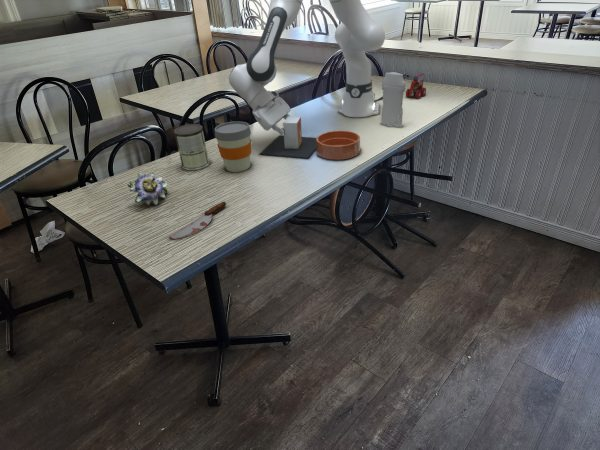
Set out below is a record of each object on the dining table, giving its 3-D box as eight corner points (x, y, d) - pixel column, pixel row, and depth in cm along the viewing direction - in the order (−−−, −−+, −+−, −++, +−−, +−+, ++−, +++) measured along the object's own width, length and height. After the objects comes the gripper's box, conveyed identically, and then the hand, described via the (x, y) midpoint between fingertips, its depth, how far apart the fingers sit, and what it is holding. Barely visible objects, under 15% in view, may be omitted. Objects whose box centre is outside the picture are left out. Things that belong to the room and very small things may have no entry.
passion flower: (160, 218, 136) (137, 203, 125) (138, 205, 140) (114, 189, 129) (180, 190, 138) (160, 172, 127) (157, 178, 142) (136, 160, 132)
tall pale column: (378, 124, 182) (379, 72, 170) (382, 121, 184) (385, 69, 173) (400, 128, 176) (403, 74, 164) (404, 125, 178) (408, 72, 167)
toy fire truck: (403, 98, 212) (404, 77, 206) (415, 92, 220) (416, 72, 214) (415, 100, 208) (417, 78, 202) (427, 94, 216) (429, 73, 210)
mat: (279, 136, 177) (279, 135, 177) (324, 139, 171) (324, 138, 170) (259, 154, 162) (259, 153, 161) (308, 159, 155) (307, 157, 155)
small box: (298, 149, 162) (297, 123, 156) (284, 149, 163) (282, 122, 158) (302, 141, 169) (301, 116, 163) (288, 141, 170) (287, 116, 164)
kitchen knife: (179, 241, 113) (167, 234, 115) (180, 246, 114) (168, 238, 116) (234, 205, 126) (222, 199, 128) (234, 209, 127) (223, 203, 129)
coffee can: (176, 165, 158) (168, 129, 150) (200, 157, 164) (192, 122, 156) (191, 173, 151) (183, 135, 144) (215, 163, 157) (208, 127, 150)
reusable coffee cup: (217, 164, 157) (210, 125, 149) (249, 157, 160) (244, 119, 152) (225, 177, 147) (218, 136, 139) (259, 169, 150) (254, 128, 142)
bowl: (324, 142, 168) (324, 129, 165) (364, 145, 163) (364, 131, 160) (311, 158, 156) (310, 144, 153) (353, 162, 150) (353, 147, 147)
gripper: (255, 105, 151) (282, 133, 153) (277, 90, 167) (302, 115, 169) (246, 116, 155) (272, 143, 157) (268, 100, 171) (292, 125, 173)
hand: (288, 128), depth 163 cm, fingers closed on small box, 8 cm apart
